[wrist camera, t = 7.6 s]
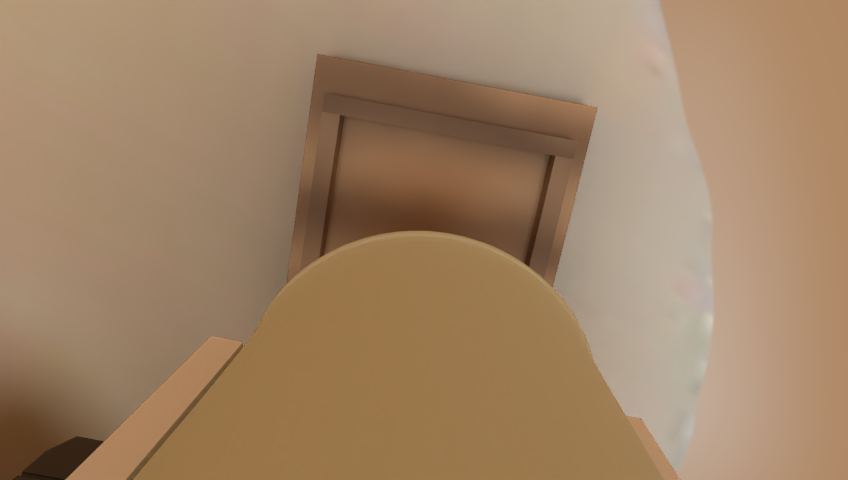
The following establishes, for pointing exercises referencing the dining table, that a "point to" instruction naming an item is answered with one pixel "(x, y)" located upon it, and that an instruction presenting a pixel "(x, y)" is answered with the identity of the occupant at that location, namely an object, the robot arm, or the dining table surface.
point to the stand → (436, 163)
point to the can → (410, 378)
